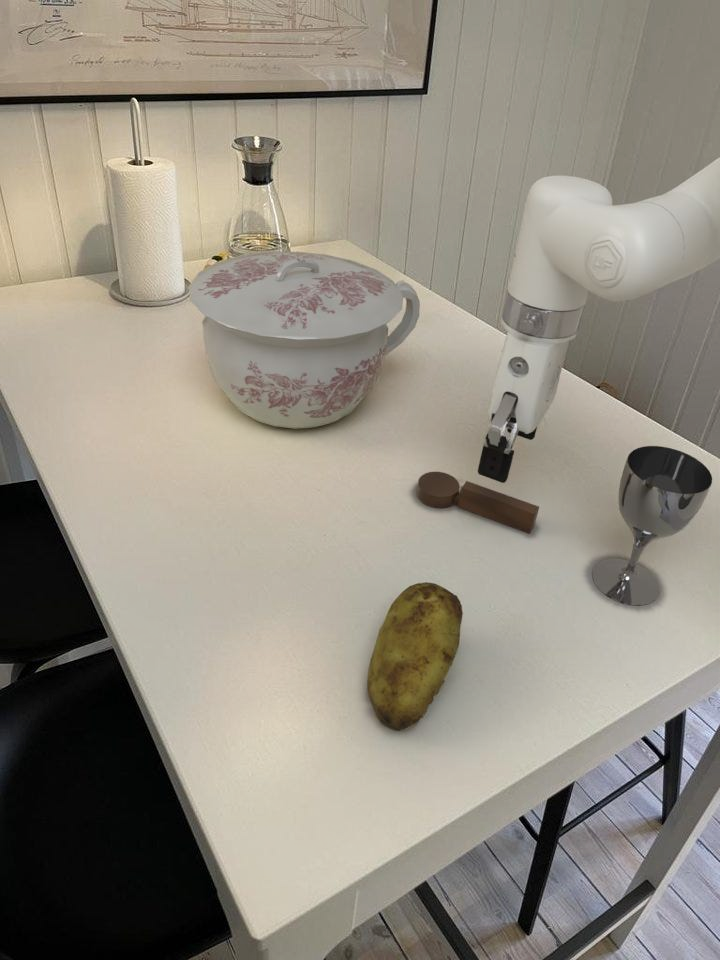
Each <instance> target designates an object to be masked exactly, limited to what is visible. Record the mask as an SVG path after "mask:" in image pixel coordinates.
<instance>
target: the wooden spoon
mask: <svg viewBox="0 0 720 960" xmlns="http://www.w3.org/2000/svg"><path fill="white" fill-rule="evenodd" d="M417 482H418V483H417V487H416V497H417V499H418V500H419V501H420V502H421V503H422V504H423V505H424V506H425V505H426V506H428V507H430V508H435V509H446V508H450V507H452V506H456V507H457V508H458V509H462V510H464V511H467V512H470V513H472V514H475V515H478V516H480V517H483V518H486V519H488V520H491V521H494V522H497V523H499V524H502V525H505V526H508V527H510V528H513V529H516V530H519V531H521V532H523V533H526V534H529V535H530V534H531V533H532V532H533V529H534V527H535V525H536V520H537V517H538V514H539V510H540V506H539V505H537V504H534V503H530V502H528V501H524V500H522V499H519V498H516V497H514V496H510V495H508V494H505V493H502V492H499V491H497V490H494V489H491V488H488V487H486V486H482V485H479V484H477V483H474V482H472V481H468V480H466V481H465V482H464V483H463V485H462V486H461V485H460V482H459V480H458V479H457V478H456V477H454V476H453V475H452V474H449V473H447V472H442V471H428V472H425V473H423V474H421V476H419V478H418V480H417ZM460 488H461V489H460Z"/></svg>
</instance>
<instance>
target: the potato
mask: <svg viewBox="0 0 720 960" xmlns="http://www.w3.org/2000/svg"><path fill="white" fill-rule="evenodd" d="M463 614H464V612H463V605H462V603H461V600H460V599H459V597H458V596H457V594H454V593H453V592H451V591H450V590H448V589H446V588H445V587H443V586H441V585H440V584H437V583H434V582H428V581H425V582H417V583H415V584H412V585H409V586H408V587H406V588H405V589H404V590H403V591H401V593H399V594H398V596H397V597H396V598H395V599H394V600H393V602H392V603H391V605H390V607H389V608H388V611H387V613H386V616H385V618H384V621H383V623H382V624H381V626H380V628H379V630H378V635H377V638H376V641H375V644H374V648H373V650H372V653H371V657H370V660H369V665H368V670H367V678H366V679H367V681H366V689H367V694H368V698H369V700H370V704H371V706H372V709H373V711H374V714H375V717H376V718H377V720H378V721H379V723H381V724H382V725H383V726H385V727H387V728H389V729H391V730H394V731H396V732H401V731H404V730H407V729H409V728H411V727H412V726H415V725H416V724H418V723H419V722H420V721H421V720H422V719H423V717H424V716H425V714H426V713H427V710H428V708H429V706H430V705H431V704H432V703H433V701H434V699H435V697H436V696H437V695H438V694H439V692H440V690H441V688H442V686H443V684H444V683H445V679H446V677H447V675H448V673H449V671H450V669H451V666H452V665H453V662H454V660H455V658H456V655H457V653H458V649H459V646H460V639H461V626H462V622H463Z"/></svg>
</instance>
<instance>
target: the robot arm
mask: <svg viewBox="0 0 720 960" xmlns="http://www.w3.org/2000/svg"><path fill="white" fill-rule="evenodd" d="M718 260H720V156H719V157H717V158H716V159H715V160H714V161H712V162H711V163H709V164H708V165H706V166H704V168H702V169H700V170H699V171H698V172H696V173H695V174H692V176H690V177H689V178H687V179H685V181H683V182H682V183H680V184H679V185H677V186H675V187H674V188H672V189H670V190H669V191H666V192H665V193H664V194H660V195H656V196H653V197H649V198H646V199H643V200H639V201H636V202H633V203H624V204H614V205H613V197H612V194H611V192H610V191H609V190H608V189H607V187H605V186H603V185H602V184H601V183H598V182H597V181H593V180H590V179H588V178H584V177H579V176H573V175H558V174H557V175H547V176H544V177H541V178H539V179H538V180H536V181H535V182H534V183H533V184H532V185H531V187H530V188H529V191H528V193H527V197H526V200H525V204H524V209H523V213H522V218H521V223H520V228H519V233H518V236H517V241H516V246H515V252H514V257H513V261H512V265H511V271H510V274H509V275H510V276H509V278H508V279H509V280H508V284H507V289H506V294H505V297H504V298H505V299H504V303H503V308H502V313H501V317H500V324H501V326H502V327H503V328H504V330H506V331H507V333H506V336H505V340H504V342H503V343H504V344H503V347H502V349H501V354H500V358H499V362H498V366H497V370H496V372H495V376H494V377H495V378H494V381H493V386H492V390H491V393H490V400H489V405H488V409H487V410H488V411H487V418H488V420H489V422H490V424H489V427H488V431H487V433H486V435H485V438H484V441H483V445H482V450H481V454H480V458H479V463H478V468H477V473H478V475H479V476H482V477H485V478H488V479H491V480H493V481H495V482H498V483H501V484H505V483H506V482H507V480H508V478H509V474H510V471H511V466H512V463H513V458H514V454H515V450H513V447H514V445H515V442H516V439H517V437H520V438H522V439H526V440H529V441H532V440H533V439H534V438H535V437H536V434H537V429H538V426H539V424H540V423H541V421H542V420H543V418H544V417H545V415H546V414H547V412H548V410H549V409H550V407H551V405H552V403H553V402H554V400H555V397H556V395H557V390H558V385H559V382H560V376H561V372H562V368H563V365H564V360H565V356H566V351H567V347H568V342H571V341H573V340H574V339H575V338H576V337H577V334H578V331H579V328H580V324H581V321H582V318H583V313H584V309H585V307H586V303H587V299H588V296H589V293H591V294H593V295H595V296H596V297H599V298H601V299H603V300H606V301H610V302H615V303H624V302H630V301H634V300H637V299H639V298H643V297H644V296H646V295H648V294H650V293H652V292H655V291H657V290H660V289H661V288H663V287H666V286H667V285H670V284H672V283H674V282H677V281H679V280H681V279H685V278H687V277H689V276H691V275H692V274H695V273H696V272H698V271H700V270H702V269H704V268H706V267H707V266H709V265H711V264H712V263H715V262H716V261H718ZM505 430H506V431H507V432H508V433H509V436H508V438H507V436H505Z"/></svg>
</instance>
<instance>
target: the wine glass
mask: <svg viewBox="0 0 720 960" xmlns="http://www.w3.org/2000/svg"><path fill="white" fill-rule="evenodd" d="M712 484H713V476H712V473H711V472H710V470H709V468H707V466H706V465H705V464H704V463H703V462H701V460H698V459H697V458H696V457H694V456H692V455H691V454H688V453H686V452H685V451H681V450H678V449H675V448H670V447H668V446H661V445H646V446H645V445H644V446H639V447H637V448H635V449H633V450H631V452H629V454H628V455H627V458H626V461H625V464H624V467H623V470H622V473H621V477H620V481H619V485H618V486H619V487H618V499H617V500H618V510H619V512H620V515H621V517H622V519H623V520H624V522H625V524H626V525H627V527H628V528H629V529H630V531H631V534H632V538H633V544H632V550H631V553H630V557H629V559H628V560H627V559H622V558H608V559H604V560H600V561H599V562H597V563H596V565H595V564H594V567H593V568H592V572H591V577H592V580H593V582H594V585H595V586H596V587H597V589H598V590H599V591H600V592H601V593H602V594H604V595H605V596H606V597H608V598H610V599H611V600H613V601H615V602H618V603H620V604H624V605H628V606H646V605H649V604H652V603H654V602H655V601H656V600H657V599H658V598H659V595H660V592H661V591H660V585H659V582H658V580H657V578H656V577H655V576H654V575H653V573H652V572H650V571H649V570H648V569H647V568H645V567H643V566H641V565H640V564H638V561H639V559H640V558H641V556H642V554H643V553H644V551H645V549H646V548H647V546H649V544H651V543H652V542H655V541H656V540H660V539H664V538H668V537H671V536H674V535H676V534H678V533H680V532H681V531H683V530H684V529H685V528H686V527H687V526H688V525H689V524H690V523H691V522H692V520H693V519H694V518H695V516H697V514H698V512H699V511H700V509H701V508H702V505H703V504H704V502H705V500H706V498H707V496H708V494H709V492H710V489H711V487H712Z"/></svg>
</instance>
